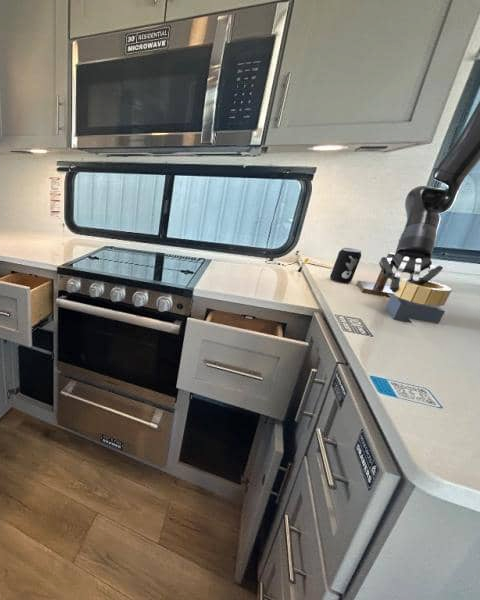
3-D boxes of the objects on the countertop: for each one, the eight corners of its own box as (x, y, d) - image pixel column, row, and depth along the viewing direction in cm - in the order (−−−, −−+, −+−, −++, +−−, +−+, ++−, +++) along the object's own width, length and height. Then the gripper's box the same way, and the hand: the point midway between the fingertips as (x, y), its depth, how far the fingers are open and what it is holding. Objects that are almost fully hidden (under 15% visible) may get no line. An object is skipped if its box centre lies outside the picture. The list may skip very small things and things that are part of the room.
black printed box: (332, 282, 121) (344, 250, 117) (326, 276, 127) (337, 246, 122) (353, 284, 120) (366, 252, 115) (346, 279, 125) (358, 248, 121)
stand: (391, 290, 116) (408, 253, 111) (399, 299, 108) (418, 259, 103) (356, 284, 120) (371, 248, 115) (362, 292, 112) (378, 254, 107)
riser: (424, 316, 96) (432, 300, 94) (436, 327, 89) (445, 311, 87) (385, 308, 100) (392, 293, 98) (393, 319, 93) (400, 303, 91)
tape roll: (442, 299, 92) (449, 284, 90) (445, 309, 85) (453, 293, 83) (394, 289, 98) (400, 275, 97) (393, 297, 91) (399, 283, 90)
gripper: (389, 231, 97) (373, 279, 93) (456, 239, 89) (441, 292, 85) (381, 246, 103) (366, 292, 99) (443, 255, 95) (429, 305, 91)
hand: (401, 292), depth 92 cm, fingers closed on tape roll, 2 cm apart
